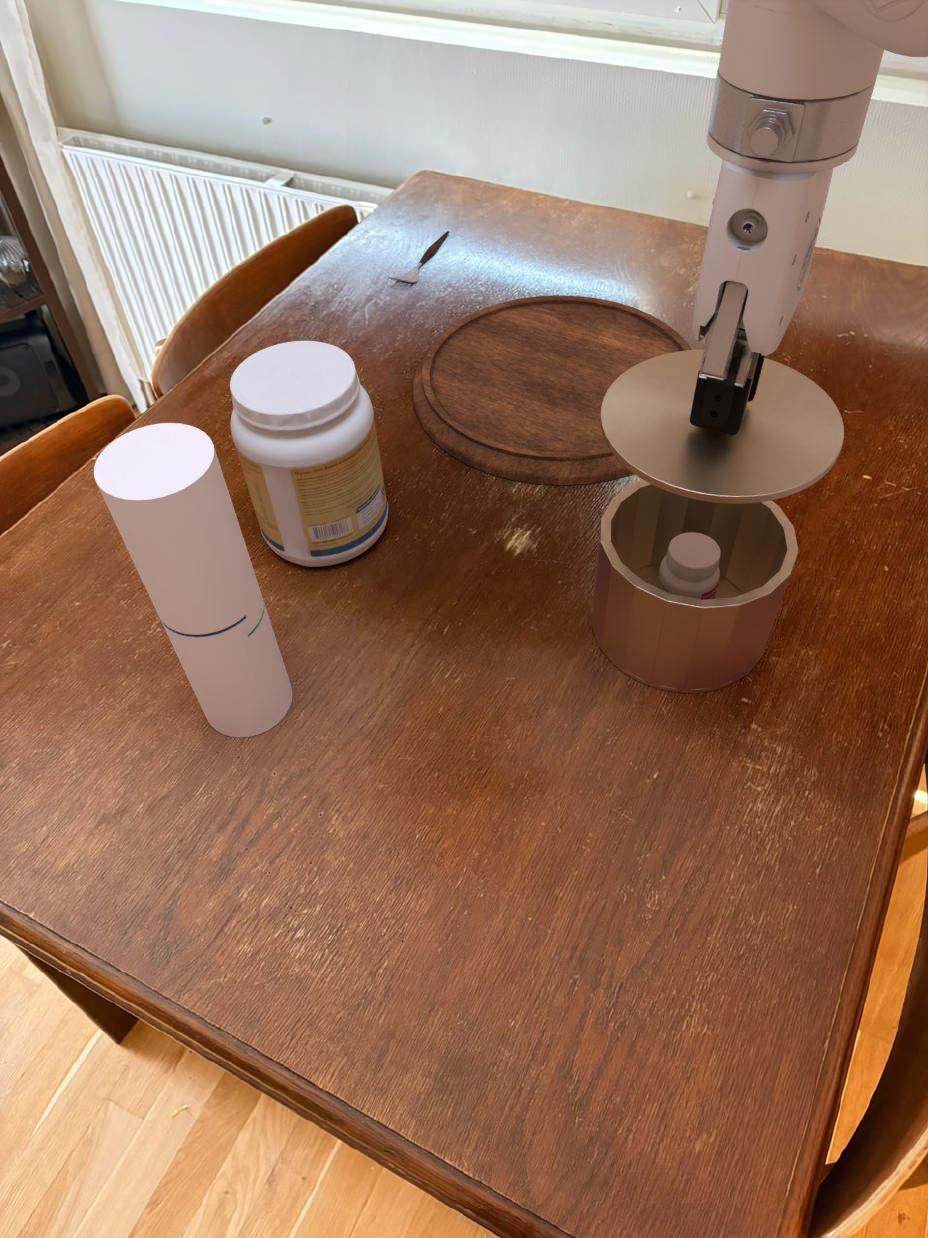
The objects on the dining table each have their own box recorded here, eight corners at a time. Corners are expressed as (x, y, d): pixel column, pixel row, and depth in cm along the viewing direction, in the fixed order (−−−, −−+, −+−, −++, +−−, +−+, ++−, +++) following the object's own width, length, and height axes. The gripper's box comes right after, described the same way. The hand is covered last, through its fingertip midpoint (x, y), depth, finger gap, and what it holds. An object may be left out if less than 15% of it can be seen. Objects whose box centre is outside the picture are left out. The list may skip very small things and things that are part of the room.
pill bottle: (701, 647, 74) (719, 578, 67) (644, 633, 75) (657, 564, 68) (712, 606, 77) (730, 535, 70) (657, 593, 78) (670, 522, 71)
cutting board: (637, 524, 84) (640, 504, 82) (356, 428, 95) (353, 408, 93) (748, 350, 101) (752, 330, 100) (499, 286, 113) (499, 267, 111)
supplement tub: (403, 490, 88) (385, 339, 76) (370, 580, 81) (343, 428, 68) (287, 477, 90) (249, 328, 78) (243, 564, 83) (194, 413, 70)
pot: (785, 590, 78) (816, 500, 70) (740, 719, 70) (769, 633, 62) (625, 542, 83) (637, 452, 75) (565, 657, 74) (571, 570, 66)
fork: (457, 236, 122) (457, 221, 120) (406, 294, 113) (405, 280, 111) (440, 233, 123) (439, 218, 121) (388, 291, 113) (386, 276, 112)
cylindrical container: (187, 699, 73) (72, 460, 54) (260, 651, 76) (175, 408, 57) (236, 753, 69) (130, 518, 50) (310, 700, 72) (237, 459, 53)
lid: (860, 393, 63) (890, 305, 57) (810, 539, 54) (841, 451, 49) (643, 344, 68) (653, 259, 62) (564, 471, 59) (569, 384, 53)
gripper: (829, 193, 39) (746, 503, 54) (891, 65, 49) (806, 358, 63) (664, 167, 42) (626, 471, 56) (754, 49, 51) (702, 335, 65)
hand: (722, 408), depth 59 cm, fingers closed on lid, 3 cm apart
